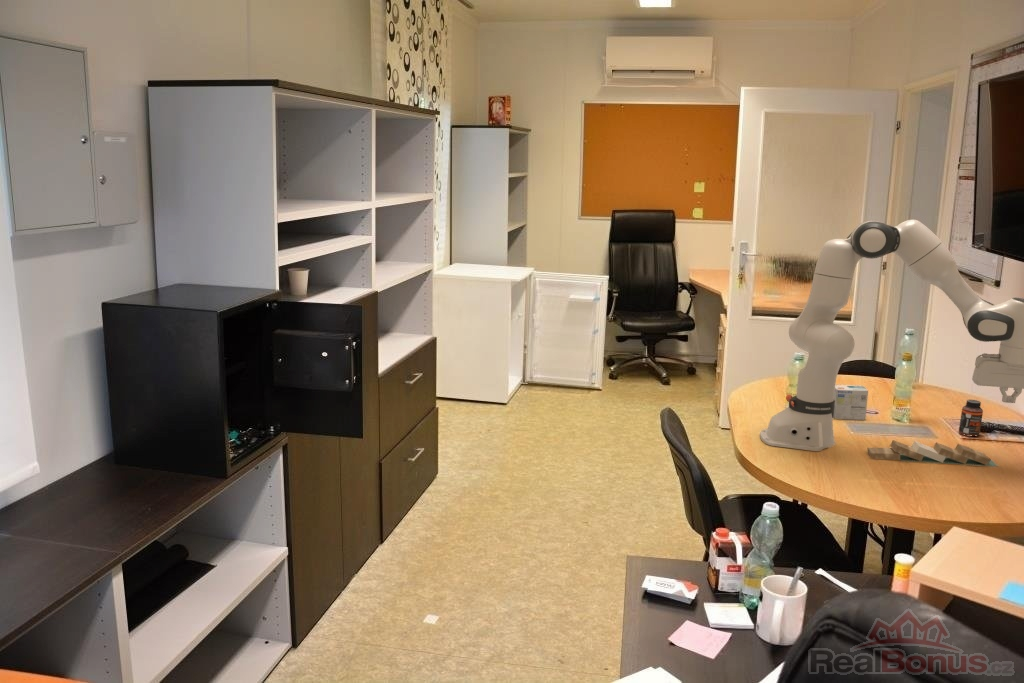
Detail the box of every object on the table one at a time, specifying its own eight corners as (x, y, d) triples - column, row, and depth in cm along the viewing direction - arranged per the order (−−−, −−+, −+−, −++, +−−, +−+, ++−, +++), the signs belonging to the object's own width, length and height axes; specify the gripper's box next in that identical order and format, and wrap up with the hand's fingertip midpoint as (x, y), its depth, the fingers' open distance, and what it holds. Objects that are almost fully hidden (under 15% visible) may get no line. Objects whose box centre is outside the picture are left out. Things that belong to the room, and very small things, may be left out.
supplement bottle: (968, 438, 258) (973, 404, 256) (954, 432, 264) (958, 399, 261) (983, 436, 260) (988, 403, 257) (969, 430, 266) (973, 397, 263)
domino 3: (942, 462, 236) (916, 452, 237) (937, 456, 241) (911, 446, 242) (946, 456, 236) (919, 446, 237) (940, 450, 241) (914, 440, 241)
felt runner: (899, 461, 238) (899, 460, 238) (893, 454, 244) (893, 453, 244) (998, 467, 234) (998, 466, 234) (990, 460, 240) (990, 459, 239)
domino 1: (900, 460, 238) (871, 459, 240) (895, 454, 243) (867, 453, 244) (900, 453, 238) (871, 453, 239) (895, 447, 243) (867, 447, 244)
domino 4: (965, 464, 235) (938, 453, 236) (958, 458, 240) (932, 448, 241) (968, 458, 235) (941, 448, 236) (962, 452, 240) (936, 442, 240)
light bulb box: (859, 414, 282) (862, 384, 280) (866, 420, 275) (869, 390, 273) (828, 413, 283) (831, 383, 281) (833, 419, 276) (836, 389, 274)
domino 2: (921, 461, 237) (894, 451, 238) (915, 455, 242) (889, 445, 243) (924, 455, 237) (897, 445, 237) (918, 449, 242) (892, 439, 242)
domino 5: (987, 465, 234) (960, 455, 235) (980, 459, 239) (954, 449, 240) (990, 459, 234) (964, 449, 235) (984, 453, 239) (957, 443, 239)
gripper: (981, 355, 227) (973, 402, 230) (1060, 360, 224) (1051, 408, 227) (972, 350, 233) (965, 396, 236) (1050, 355, 230) (1041, 402, 233)
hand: (1008, 402), depth 232 cm, fingers closed
